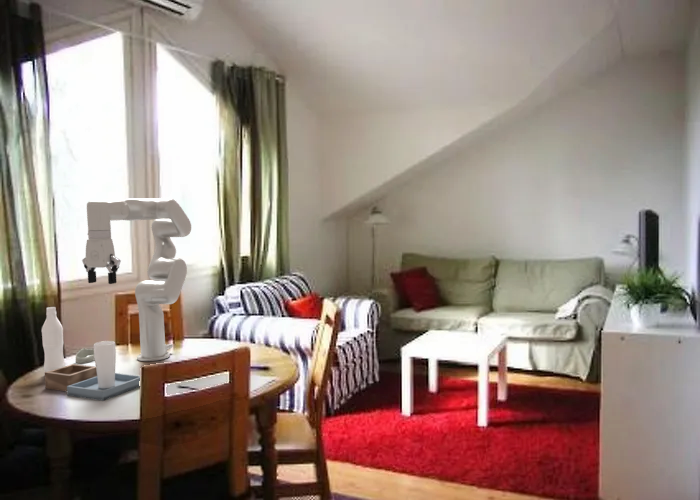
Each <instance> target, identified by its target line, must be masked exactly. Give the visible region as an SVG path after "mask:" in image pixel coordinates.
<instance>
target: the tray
mask: <svg viewBox="0 0 700 500" xmlns="http://www.w3.org/2000/svg"><path fill="white" fill-rule="evenodd" d="M140 376H141V375H136V374H135V375H134V374H127V373H120V372H119V373H118V372H115V386H114V387H111V388H108V389H101V388H99V387H98V379H97V376H96V377H93V378H90V379H87V380H84V381H81V382H78V383H75V384H72V385H69V386H67V391H66V392H67V396H68V397H69V396H70V397H77V398H83V399H89V400H90V399H91V400H97V401H106V400H110V399H111V398H114V397H117V396H119V395H122V394H124V393H127V392H129V391H132V390H134V389H137V388H140V387H139V381H140Z"/></svg>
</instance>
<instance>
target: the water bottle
mask: <svg viewBox="0 0 700 500" xmlns="http://www.w3.org/2000/svg"><path fill="white" fill-rule="evenodd" d="M45 315H46V318H45V321H44V323H43V325H42V326H41V336H42V337H41V339H42V347H43V352H44V363H43V370H44V373H45V372H48V371H51V370H55V369H58V368H61V367H65V366H66V362H65V358H64V344H65V343H64V328H63V324H61V321H60V320H59V318H58V317H57V310H56V306H50V307H49V306H48V307H46V314H45Z"/></svg>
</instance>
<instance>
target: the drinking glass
mask: <svg viewBox="0 0 700 500" xmlns="http://www.w3.org/2000/svg"><path fill="white" fill-rule="evenodd" d="M93 350H94V358H95V359H94V363H95V367H96V372H97V379H98V387H99V388H101V389H108V388H111V387H114V386H115V373H116V362H117V361H116V359H117V357H116V356H117V354H116V353H117V351H116V350H117V349H116V342H115V341H114V340H103V341H98V342H95V343H94V344H93Z"/></svg>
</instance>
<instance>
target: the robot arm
mask: <svg viewBox="0 0 700 500" xmlns="http://www.w3.org/2000/svg"><path fill="white" fill-rule="evenodd" d="M86 218H87V220H86V221H87V236H88V239H86V242H85V243H86V244H85V257H84V258H82V260H81V261H82V264H83V267H84V269H85V272H86V273H87V282H88V284H93V283H96V282H97V272H96V269H97V268H100V269H101V268H102V269H103V268H106V269H107V271H108V272H107V279H108V281H107V282H108V283H107V284H109V285H114V284H116V283H117V272H118V271H119V270H118V269H120V264H121V261H122V260H121V259H120V258H118V257H117V256H116V253H115V248H114V247H115V246H114V243H113V239H112V227H111V225H112V224H111V221H113V222H114V221H148V220H149V221H150V220H152V222H151V227H150V228H151V232H152V235H153V239H154V241H155V248H154V252H153V254H152V257H151V260H150V262H149V265H148V267H147V276H148V278H149V280H146V279H145V280H142V281H139V282H138V283H137V285H136V286H135V289H134V295H135V300H136V304H137V308H138V309H137V310H138V323H139V341H140V343H139V344H140V345H139V346H140V354H138V355H137V356H136V360H138V361H141V362H157V361H161V360H165V359H167V358H169V357H170V352H168V350H170V349H172V348H173V347H174V345H173V344H172V343H168V344H166V337H165V335H166V334H165V316H164V315H165V313H164V311H163V309H162V307H161V305H172V304H174V303H176V302H177V301H178V299H179V298H180V295H181V291H182V290H183V285H184V283H185V281H186V279H187V278H186V277H187V275H188V274H187V273H188V267H187V264H186V262H185V260H183V258H179V257H176V254H177V248H176V246H175V244H174V242H173V241H172V239H171V238H184V237H187V236H190V235H189V234H190V233H191V231H192V223H191V220H190V219H189V217H188V215H187V214H186V213H185V211H184V209H183V208H182V207H181V205H180V204H179V203H178V202H177V200H175V199H174V198H170V197H166V198H165V197H163V198H162V197H161V198H160V197H159V198H126V199H125V198H124V199H103V200H102V199H101V200H89V201H88V202H87V203H86Z"/></svg>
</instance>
